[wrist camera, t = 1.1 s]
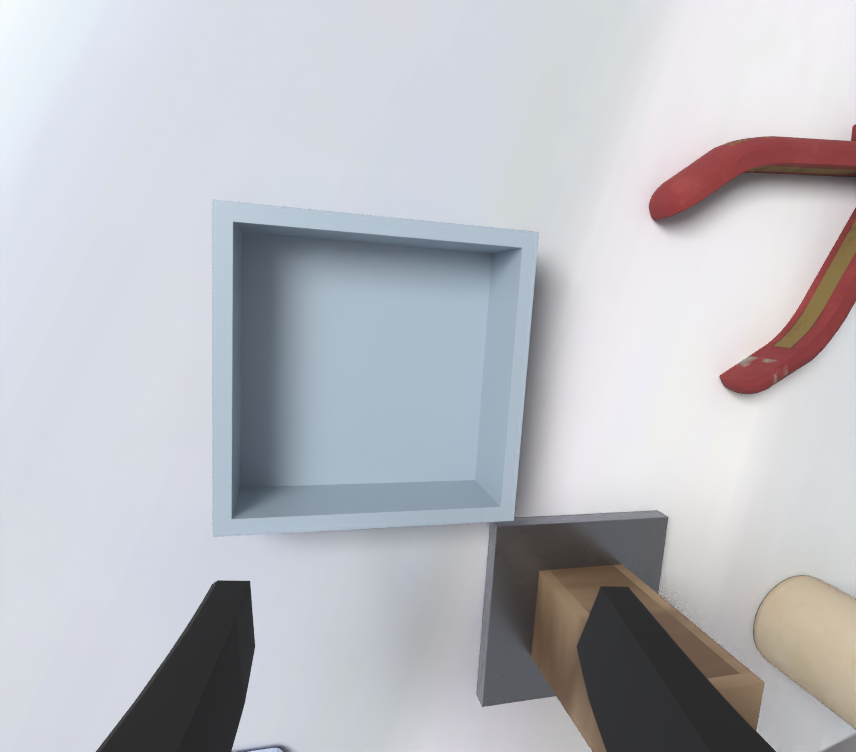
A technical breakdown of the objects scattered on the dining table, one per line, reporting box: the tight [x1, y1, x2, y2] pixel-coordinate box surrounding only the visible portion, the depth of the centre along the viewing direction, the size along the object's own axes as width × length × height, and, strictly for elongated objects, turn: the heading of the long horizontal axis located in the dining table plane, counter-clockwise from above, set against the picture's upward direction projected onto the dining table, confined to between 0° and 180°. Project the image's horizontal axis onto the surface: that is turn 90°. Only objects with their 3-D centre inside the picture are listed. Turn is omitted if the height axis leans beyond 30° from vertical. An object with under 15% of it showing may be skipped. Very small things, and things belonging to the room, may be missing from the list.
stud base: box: [477, 511, 668, 707], centre depth 24 cm, size 9×9×3 cm
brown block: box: [531, 564, 764, 752], centre depth 21 cm, size 4×4×8 cm
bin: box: [212, 200, 539, 537], centre depth 20 cm, size 11×11×4 cm
